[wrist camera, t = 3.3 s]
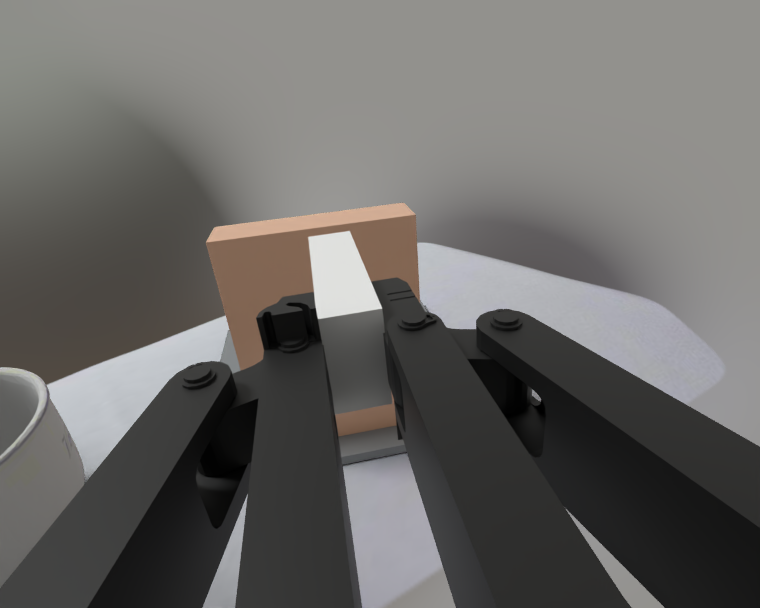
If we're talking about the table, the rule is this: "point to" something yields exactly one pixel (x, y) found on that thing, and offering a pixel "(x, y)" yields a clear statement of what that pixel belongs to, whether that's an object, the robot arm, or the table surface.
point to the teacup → (31, 466)
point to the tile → (307, 274)
